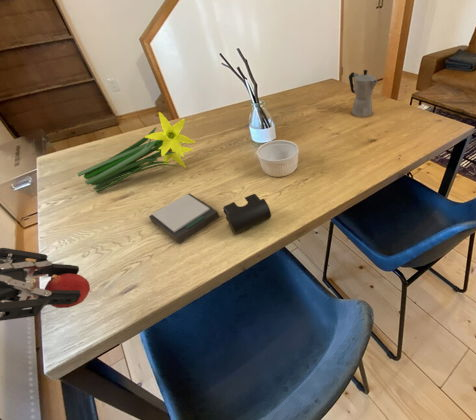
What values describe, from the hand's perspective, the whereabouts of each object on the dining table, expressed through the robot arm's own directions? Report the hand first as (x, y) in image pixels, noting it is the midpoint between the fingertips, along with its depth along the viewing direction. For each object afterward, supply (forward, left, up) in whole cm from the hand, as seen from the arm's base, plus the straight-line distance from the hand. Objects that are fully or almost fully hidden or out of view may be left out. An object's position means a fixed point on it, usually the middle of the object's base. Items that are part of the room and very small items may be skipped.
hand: (77, 283), depth 49 cm
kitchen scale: (+25, +10, -9) cm, 28 cm away
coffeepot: (+112, +9, -9) cm, 112 cm away
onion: (-2, 0, -4) cm, 5 cm away
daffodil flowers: (+29, +38, -9) cm, 48 cm away
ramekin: (+58, +7, -9) cm, 59 cm away
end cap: (+34, -5, -9) cm, 35 cm away
